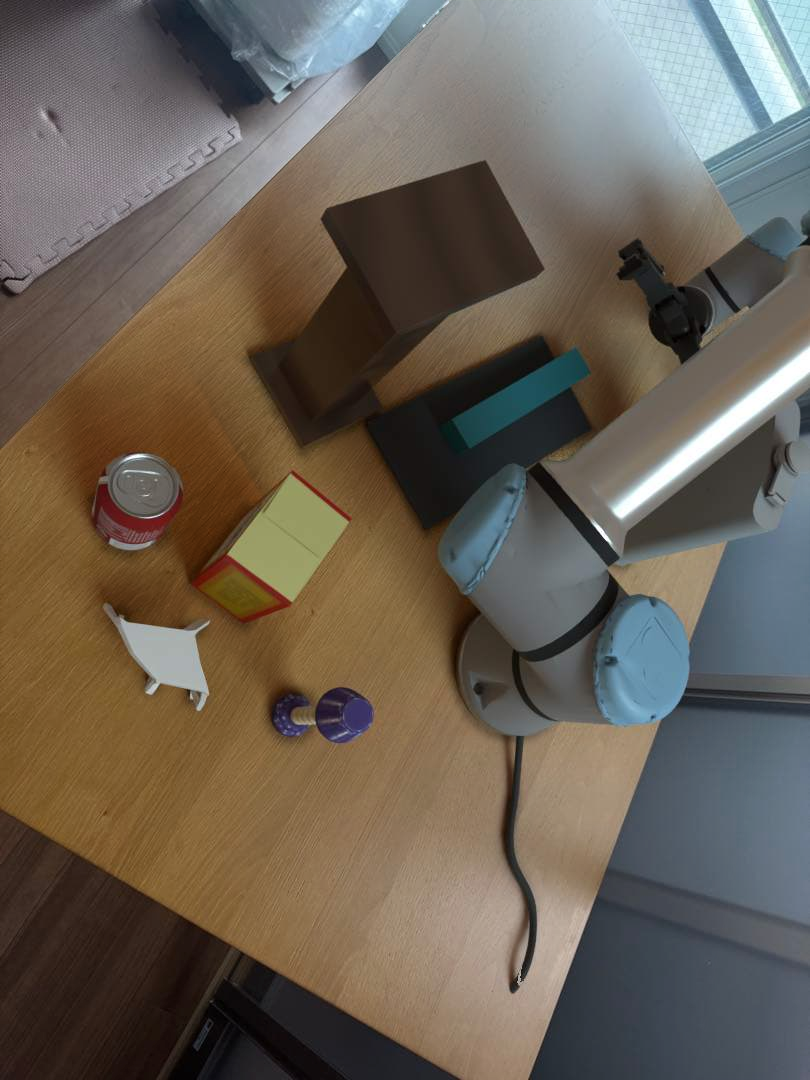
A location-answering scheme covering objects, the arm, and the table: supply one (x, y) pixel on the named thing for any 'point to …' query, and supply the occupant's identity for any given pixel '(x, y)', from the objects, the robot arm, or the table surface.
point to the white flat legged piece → (165, 654)
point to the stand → (394, 291)
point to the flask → (727, 494)
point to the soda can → (136, 500)
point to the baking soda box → (272, 550)
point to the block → (514, 401)
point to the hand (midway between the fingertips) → (658, 324)
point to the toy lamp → (324, 715)
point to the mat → (451, 480)
